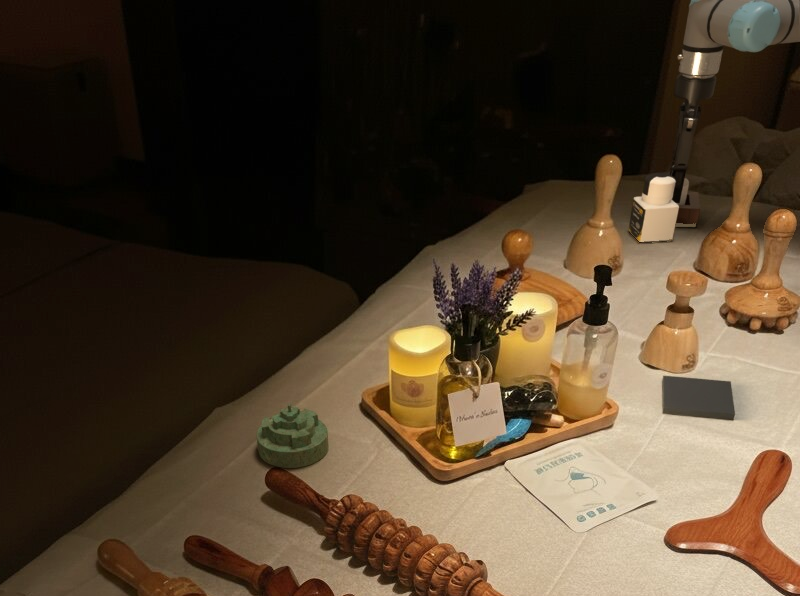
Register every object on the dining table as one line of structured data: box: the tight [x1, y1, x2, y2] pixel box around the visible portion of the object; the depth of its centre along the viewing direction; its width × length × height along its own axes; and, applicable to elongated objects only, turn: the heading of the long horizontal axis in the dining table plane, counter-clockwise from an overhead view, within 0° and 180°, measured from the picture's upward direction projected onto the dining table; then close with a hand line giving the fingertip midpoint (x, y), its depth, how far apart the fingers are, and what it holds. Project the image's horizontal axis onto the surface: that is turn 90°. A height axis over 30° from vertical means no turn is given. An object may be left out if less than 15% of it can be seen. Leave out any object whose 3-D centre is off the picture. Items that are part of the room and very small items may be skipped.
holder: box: [676, 191, 701, 225], centre depth 188 cm, size 11×11×4 cm
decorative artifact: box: [256, 403, 329, 469], centre depth 122 cm, size 10×7×10 cm
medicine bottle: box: [627, 172, 679, 243], centre depth 178 cm, size 7×7×12 cm
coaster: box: [661, 375, 736, 421], centre depth 131 cm, size 10×10×1 cm
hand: (672, 198), depth 187 cm, fingers closed on eye dropper bottle, 4 cm apart
